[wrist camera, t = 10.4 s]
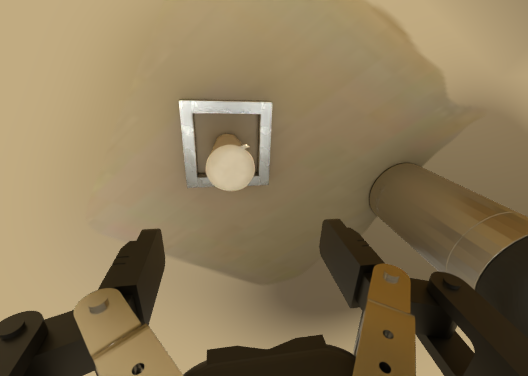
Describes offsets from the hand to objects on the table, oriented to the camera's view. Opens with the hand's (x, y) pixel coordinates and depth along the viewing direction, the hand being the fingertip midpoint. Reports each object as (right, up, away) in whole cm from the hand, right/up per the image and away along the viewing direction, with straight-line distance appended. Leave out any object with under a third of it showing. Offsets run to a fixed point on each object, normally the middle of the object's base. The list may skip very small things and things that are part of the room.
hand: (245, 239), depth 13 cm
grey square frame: (-3, +8, +18) cm, 20 cm away
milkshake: (-3, +8, +18) cm, 20 cm away
